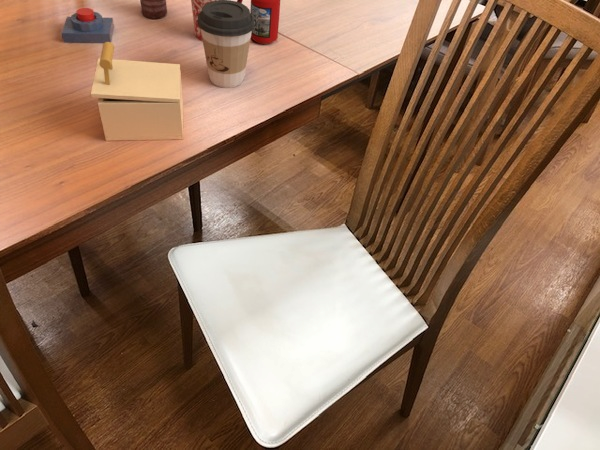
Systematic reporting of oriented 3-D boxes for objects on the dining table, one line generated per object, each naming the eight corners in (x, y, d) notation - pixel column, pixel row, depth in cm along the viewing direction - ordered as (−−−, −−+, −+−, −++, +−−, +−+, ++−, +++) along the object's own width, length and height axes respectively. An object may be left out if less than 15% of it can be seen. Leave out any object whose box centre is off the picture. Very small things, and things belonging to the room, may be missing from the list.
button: (76, 22, 112) (75, 14, 111) (79, 15, 114) (77, 7, 113) (94, 22, 113) (92, 15, 111) (95, 15, 115) (94, 7, 114)
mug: (196, 46, 117) (192, -14, 107) (186, 28, 123) (183, -31, 113) (248, 41, 121) (249, -17, 111) (237, 23, 127) (237, -33, 117)
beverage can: (243, 37, 122) (244, -14, 113) (264, 30, 126) (267, -20, 117) (262, 48, 119) (265, -3, 111) (283, 41, 123) (287, -10, 114)
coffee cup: (190, 84, 106) (185, 14, 95) (214, 60, 113) (212, -8, 103) (239, 99, 104) (240, 28, 93) (261, 73, 112) (264, 6, 101)
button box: (63, 42, 112) (59, 25, 110) (69, 25, 118) (65, 8, 115) (111, 43, 114) (107, 26, 111) (114, 26, 120) (111, 9, 117)
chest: (105, 140, 91) (97, 103, 85) (111, 104, 99) (104, 67, 93) (183, 139, 93) (180, 103, 88) (183, 103, 101) (180, 68, 95)
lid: (91, 97, 84) (86, 67, 80) (98, 61, 92) (95, 32, 88) (179, 102, 88) (180, 74, 84) (179, 68, 95) (180, 40, 91)
